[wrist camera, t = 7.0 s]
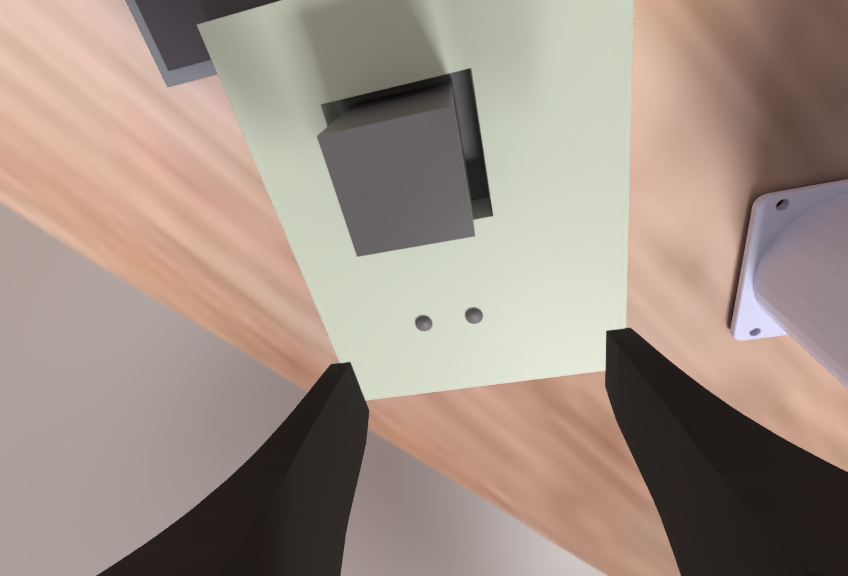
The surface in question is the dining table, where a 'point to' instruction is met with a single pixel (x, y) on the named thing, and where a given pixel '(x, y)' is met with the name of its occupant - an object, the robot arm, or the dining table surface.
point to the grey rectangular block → (400, 170)
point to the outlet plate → (487, 172)
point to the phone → (182, 33)
